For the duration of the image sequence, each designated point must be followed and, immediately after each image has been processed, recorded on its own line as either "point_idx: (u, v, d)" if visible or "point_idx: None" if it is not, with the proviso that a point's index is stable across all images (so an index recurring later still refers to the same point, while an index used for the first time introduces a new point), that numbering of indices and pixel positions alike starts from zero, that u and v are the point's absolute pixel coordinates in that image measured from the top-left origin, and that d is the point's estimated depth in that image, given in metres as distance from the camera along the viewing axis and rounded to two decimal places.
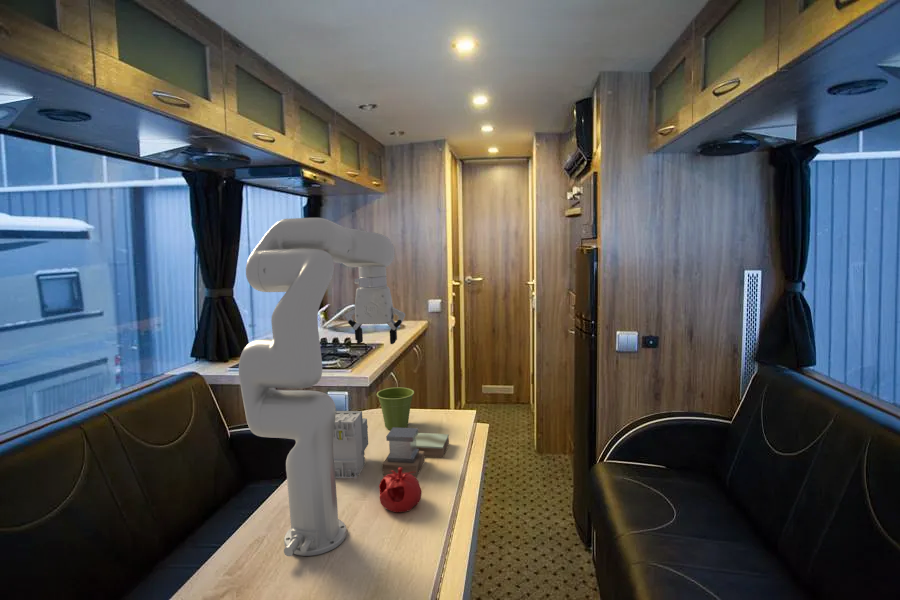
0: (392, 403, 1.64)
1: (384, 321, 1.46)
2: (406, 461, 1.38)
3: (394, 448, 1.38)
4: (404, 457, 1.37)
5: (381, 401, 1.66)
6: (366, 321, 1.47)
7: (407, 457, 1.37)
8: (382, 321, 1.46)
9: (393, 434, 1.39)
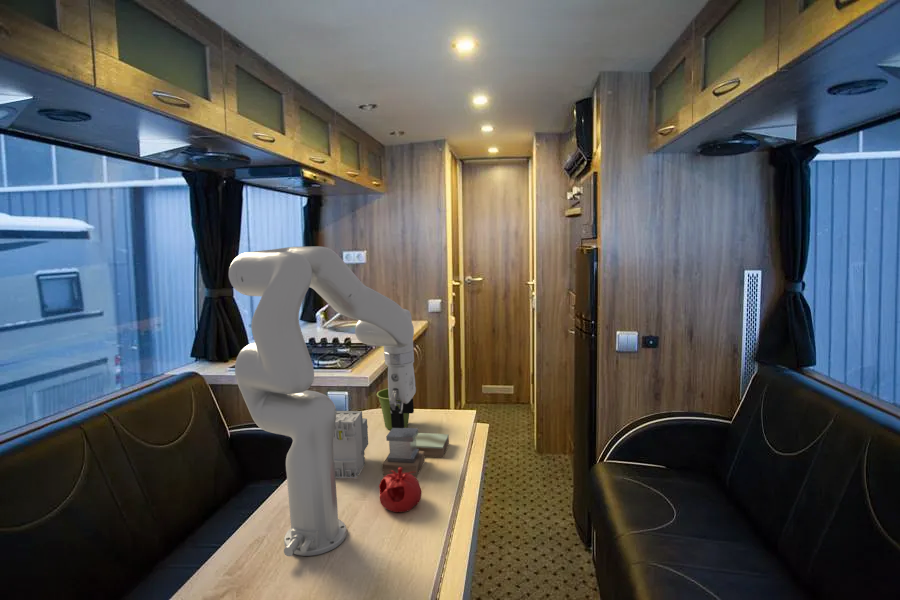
0: None
1: (415, 391, 1.42)
2: (406, 461, 1.38)
3: (394, 448, 1.38)
4: (404, 457, 1.37)
5: (381, 401, 1.66)
6: (410, 398, 1.37)
7: (407, 457, 1.37)
8: (414, 391, 1.41)
9: (393, 434, 1.39)
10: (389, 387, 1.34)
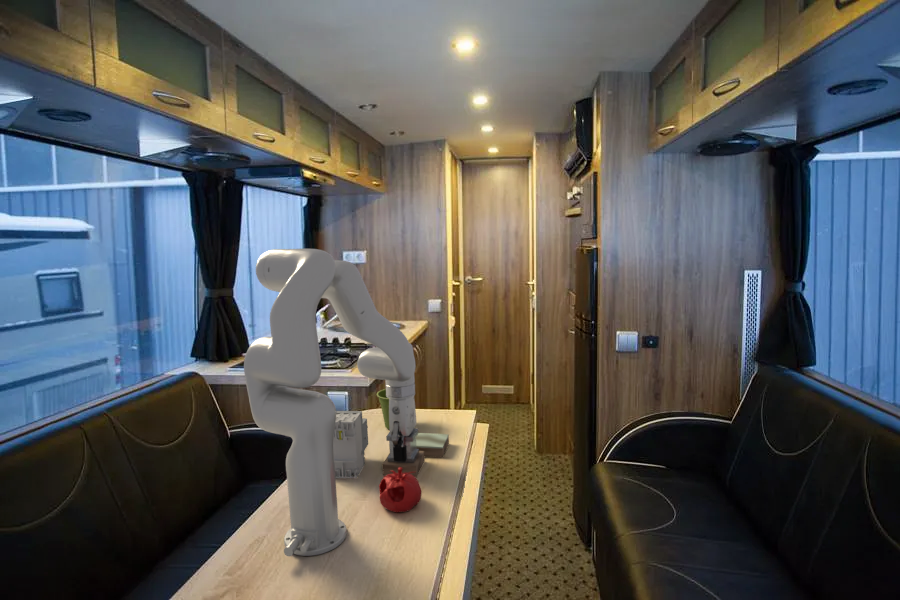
0: None
1: (415, 423, 1.42)
2: (406, 461, 1.38)
3: None
4: None
5: (381, 401, 1.66)
6: (411, 430, 1.38)
7: (407, 457, 1.37)
8: (415, 423, 1.42)
9: None
10: (390, 420, 1.35)
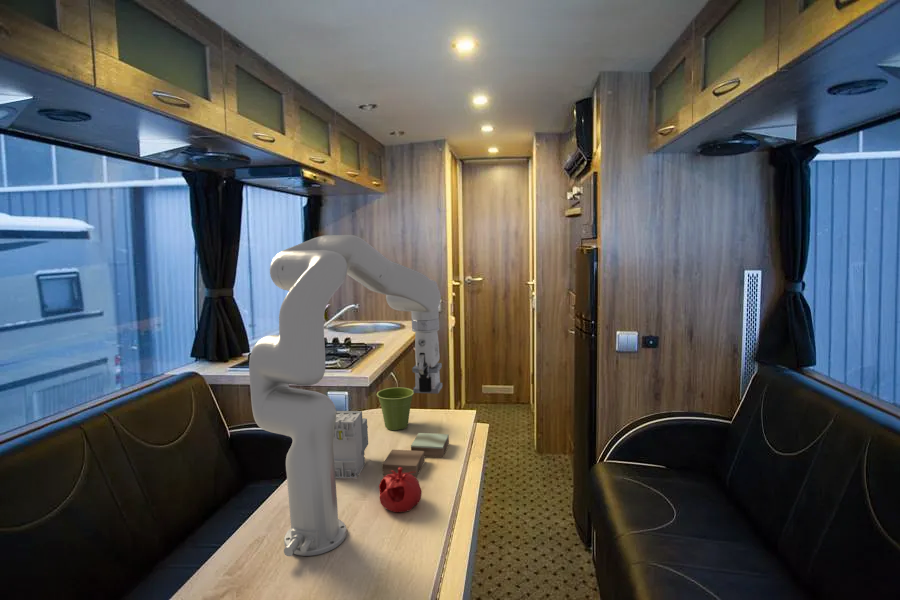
0: (392, 403, 1.64)
1: (439, 358, 1.51)
2: (431, 392, 1.46)
3: None
4: None
5: (381, 401, 1.66)
6: (435, 363, 1.46)
7: (432, 388, 1.46)
8: (438, 358, 1.51)
9: None
10: (416, 352, 1.43)
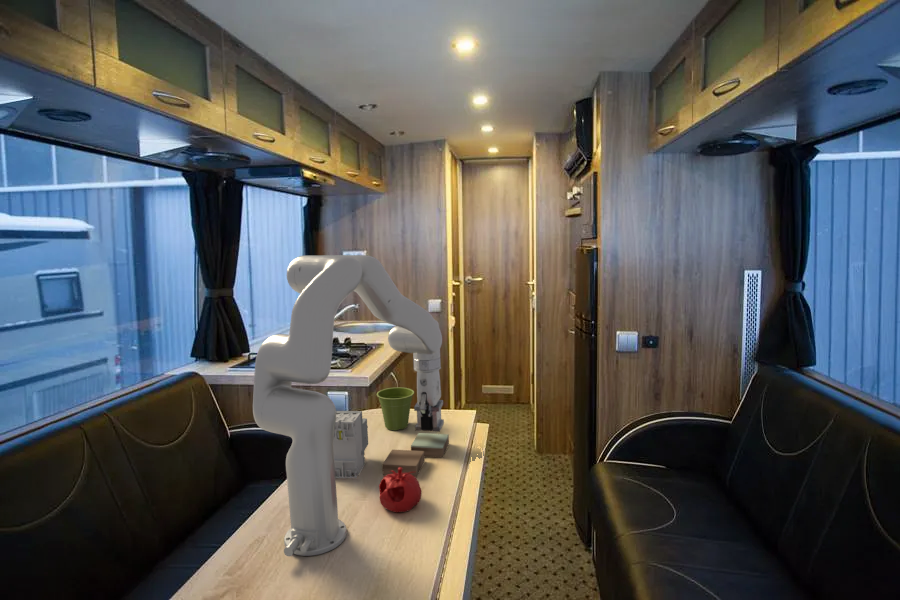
0: (392, 403, 1.64)
1: (440, 395, 1.53)
2: (432, 430, 1.48)
3: None
4: None
5: (381, 401, 1.66)
6: (437, 401, 1.48)
7: (433, 426, 1.48)
8: (440, 396, 1.52)
9: None
10: (418, 391, 1.45)
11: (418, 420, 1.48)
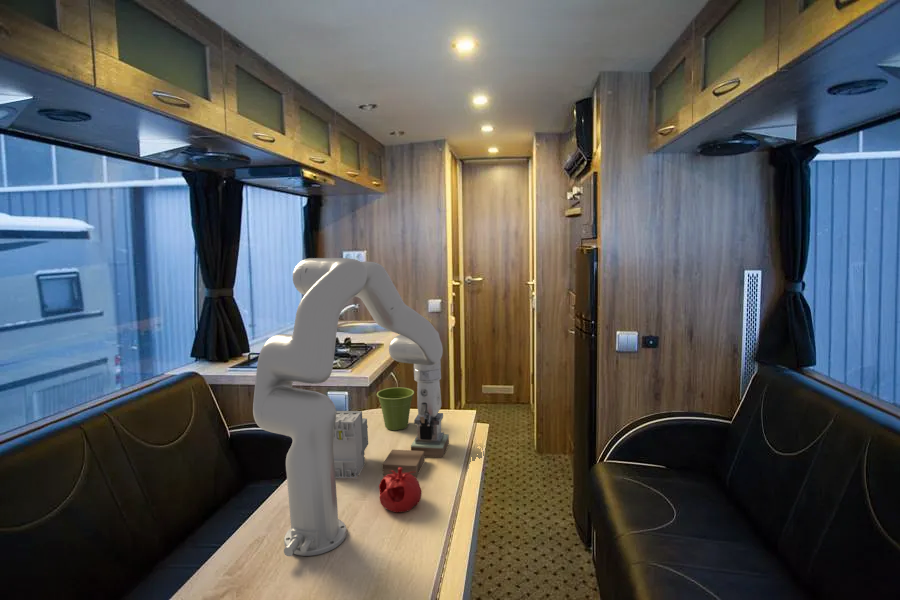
0: (392, 403, 1.64)
1: (440, 405, 1.53)
2: (433, 443, 1.48)
3: None
4: (431, 439, 1.48)
5: (381, 401, 1.66)
6: (437, 411, 1.48)
7: (434, 439, 1.48)
8: (440, 406, 1.53)
9: None
10: (418, 401, 1.45)
11: (418, 433, 1.49)
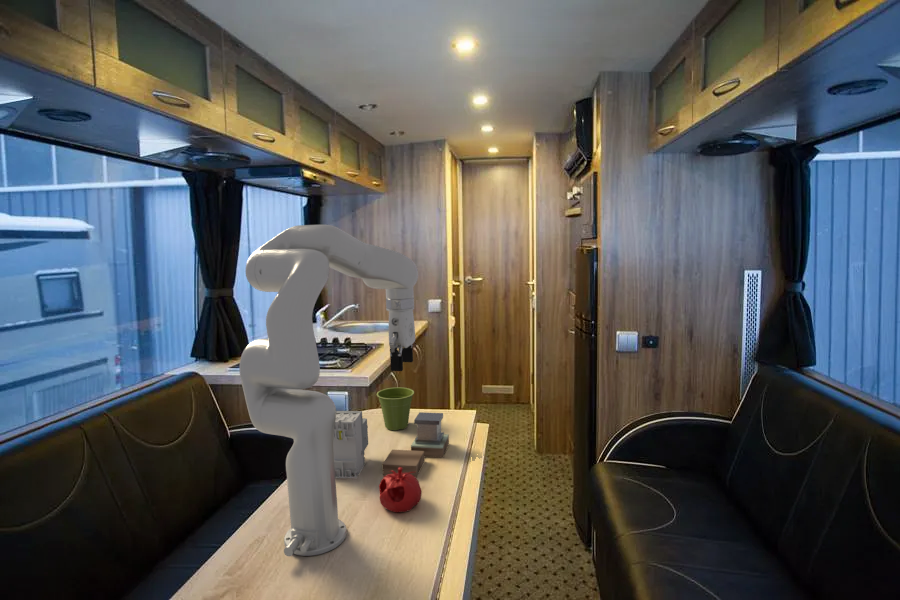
0: (392, 403, 1.64)
1: (414, 340, 1.48)
2: (433, 443, 1.48)
3: (421, 431, 1.48)
4: (431, 439, 1.48)
5: (381, 401, 1.66)
6: (409, 343, 1.43)
7: (434, 439, 1.48)
8: (414, 340, 1.48)
9: (420, 418, 1.49)
10: (389, 331, 1.41)
11: (418, 433, 1.49)
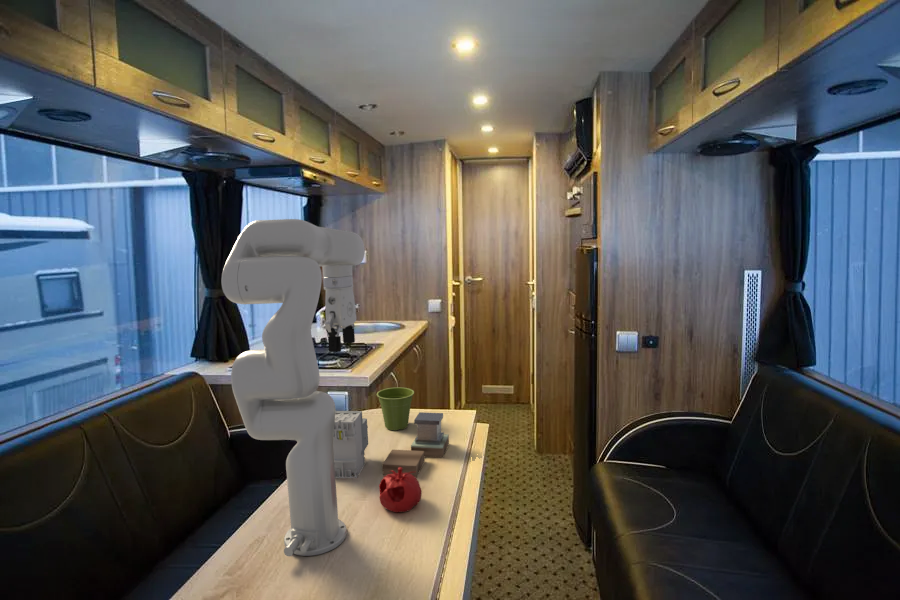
0: (392, 403, 1.64)
1: (355, 319, 1.43)
2: (433, 443, 1.48)
3: (421, 431, 1.48)
4: (431, 439, 1.48)
5: (381, 401, 1.66)
6: (348, 323, 1.38)
7: (434, 439, 1.48)
8: (354, 320, 1.43)
9: (420, 418, 1.49)
10: (326, 310, 1.35)
11: (418, 433, 1.49)
